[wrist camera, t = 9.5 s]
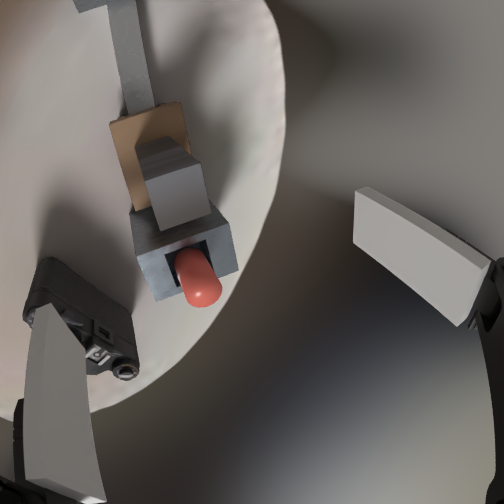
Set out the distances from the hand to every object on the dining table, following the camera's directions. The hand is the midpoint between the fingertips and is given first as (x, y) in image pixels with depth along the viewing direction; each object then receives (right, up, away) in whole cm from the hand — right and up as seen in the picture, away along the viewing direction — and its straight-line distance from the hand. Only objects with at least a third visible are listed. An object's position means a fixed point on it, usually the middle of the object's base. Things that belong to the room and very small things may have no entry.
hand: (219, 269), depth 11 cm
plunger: (-4, 0, +14) cm, 14 cm away
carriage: (-9, +11, +15) cm, 21 cm away
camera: (-21, -6, +20) cm, 30 cm away
